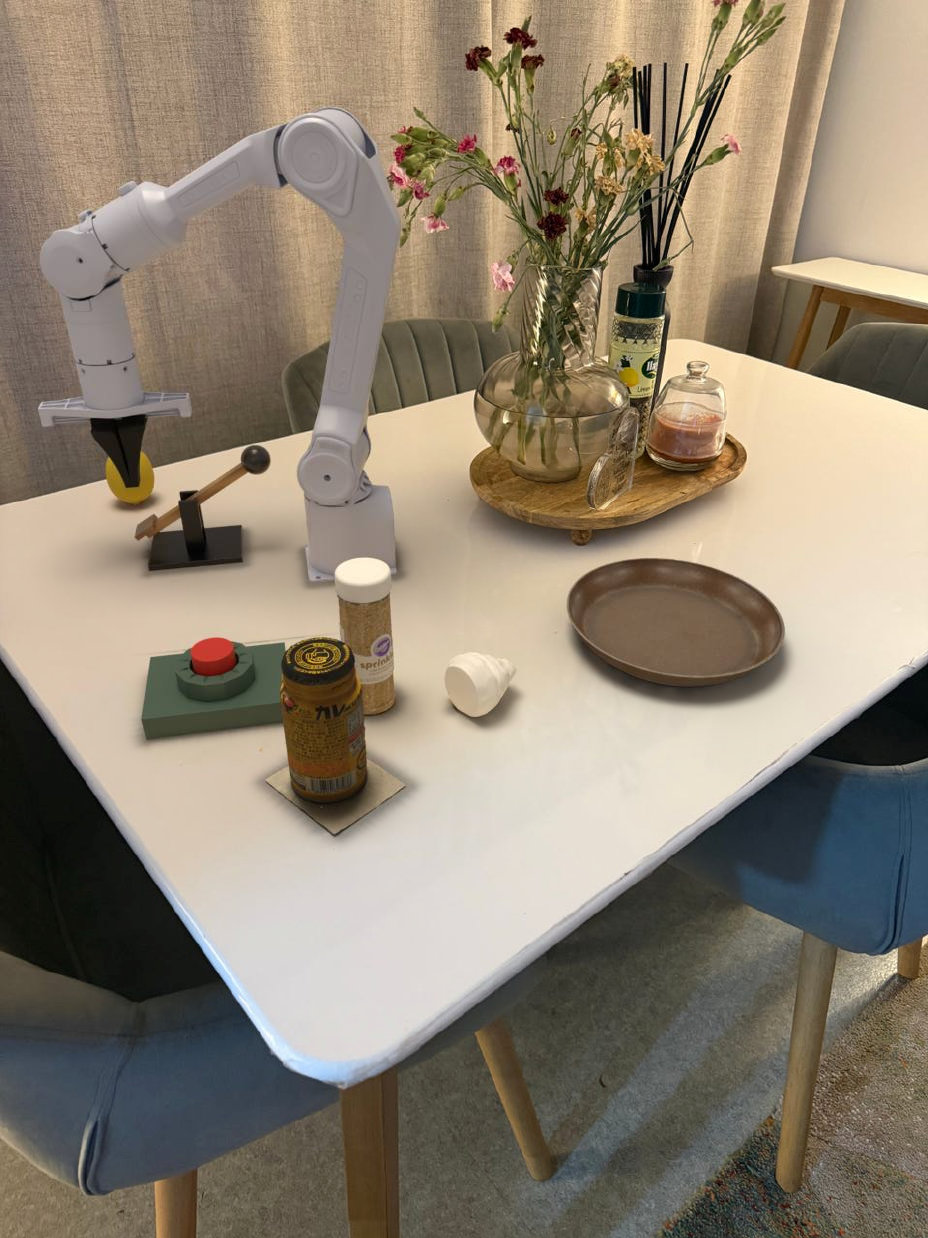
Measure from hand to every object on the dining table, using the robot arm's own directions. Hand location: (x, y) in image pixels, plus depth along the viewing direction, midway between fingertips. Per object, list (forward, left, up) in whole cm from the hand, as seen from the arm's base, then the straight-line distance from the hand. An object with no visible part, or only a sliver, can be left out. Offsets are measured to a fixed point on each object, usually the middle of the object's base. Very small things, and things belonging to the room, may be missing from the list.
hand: (133, 483), depth 95 cm
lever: (-8, 0, -3) cm, 9 cm away
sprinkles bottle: (-21, +31, -9) cm, 39 cm away
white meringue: (-31, +33, -9) cm, 46 cm away
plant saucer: (-51, +27, -9) cm, 59 cm away
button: (-8, +28, -5) cm, 29 cm away
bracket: (-5, 0, -9) cm, 11 cm away
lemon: (+3, -14, -9) cm, 17 cm away
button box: (-8, +28, -9) cm, 30 cm away
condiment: (-17, +41, -9) cm, 45 cm away
